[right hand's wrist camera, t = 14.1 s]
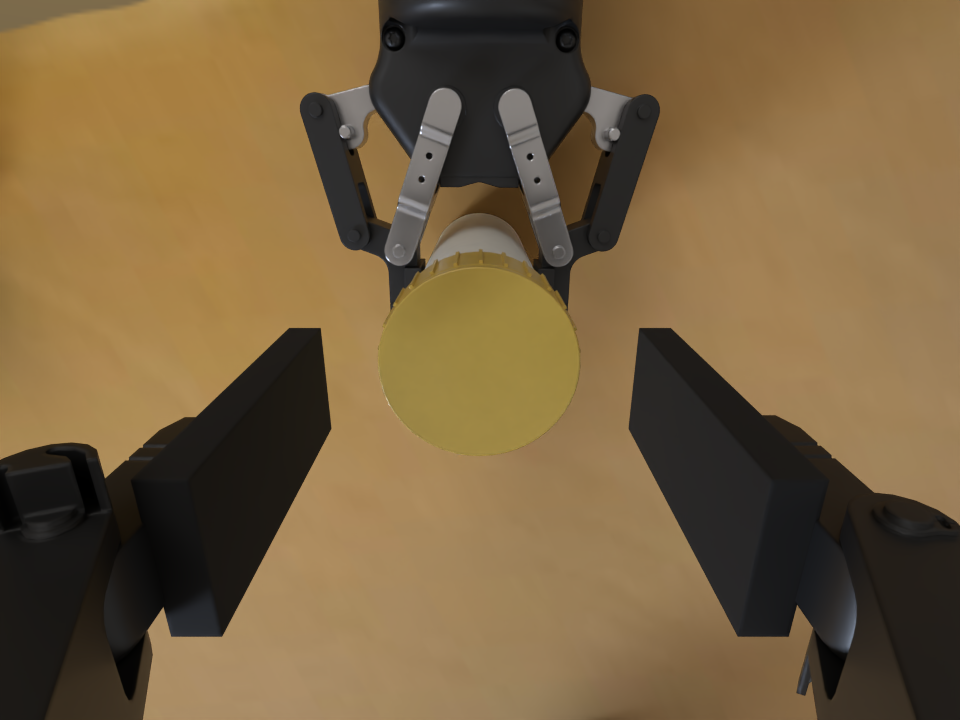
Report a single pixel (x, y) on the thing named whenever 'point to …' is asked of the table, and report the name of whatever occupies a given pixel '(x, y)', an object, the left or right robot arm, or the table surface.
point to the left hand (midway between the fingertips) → (478, 342)
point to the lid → (479, 354)
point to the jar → (479, 238)
